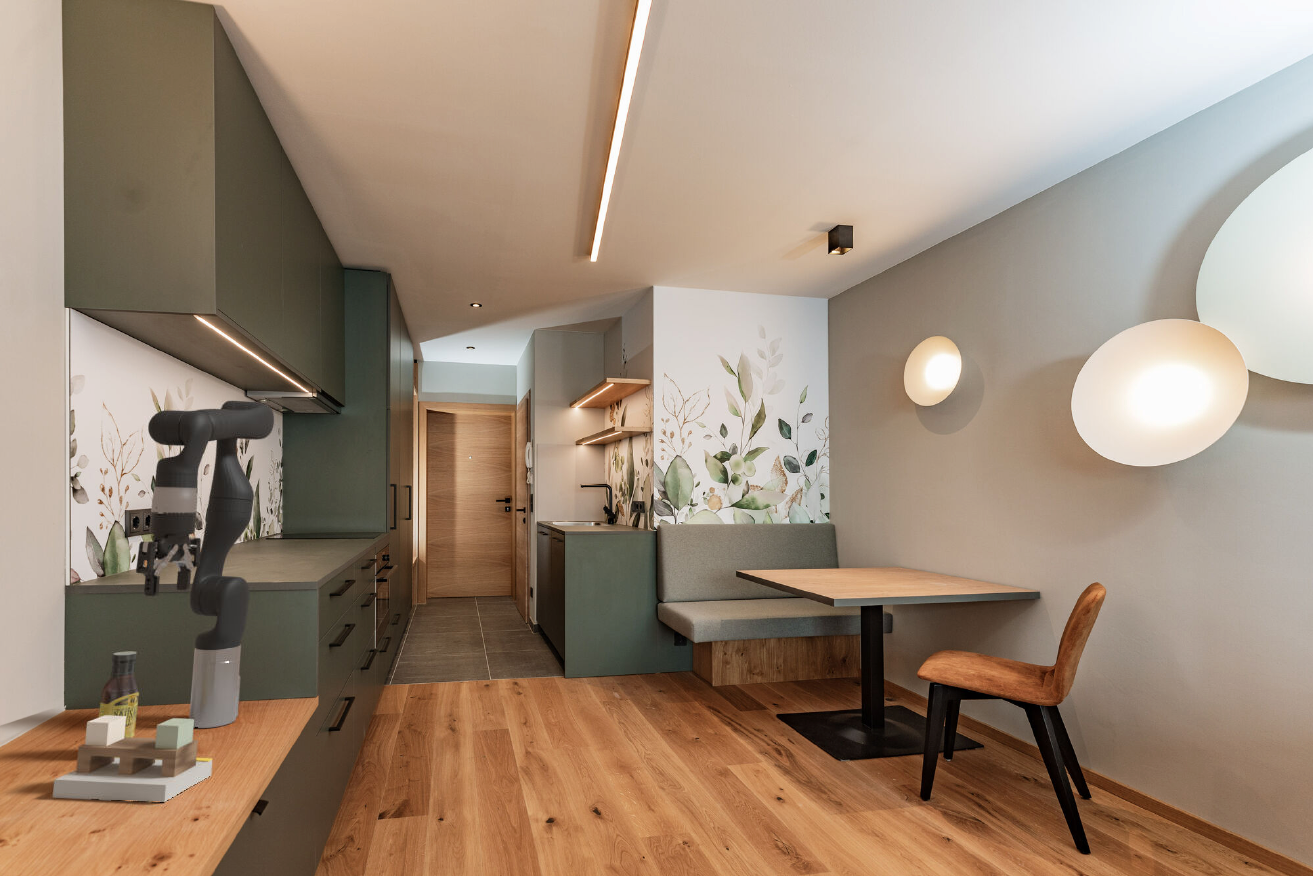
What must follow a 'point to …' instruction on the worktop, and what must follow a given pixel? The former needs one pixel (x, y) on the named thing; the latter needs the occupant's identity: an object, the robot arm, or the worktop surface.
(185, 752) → the pallet
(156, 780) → the block
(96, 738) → the white crate
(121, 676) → the sauce bottle
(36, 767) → the worktop surface
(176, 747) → the block
